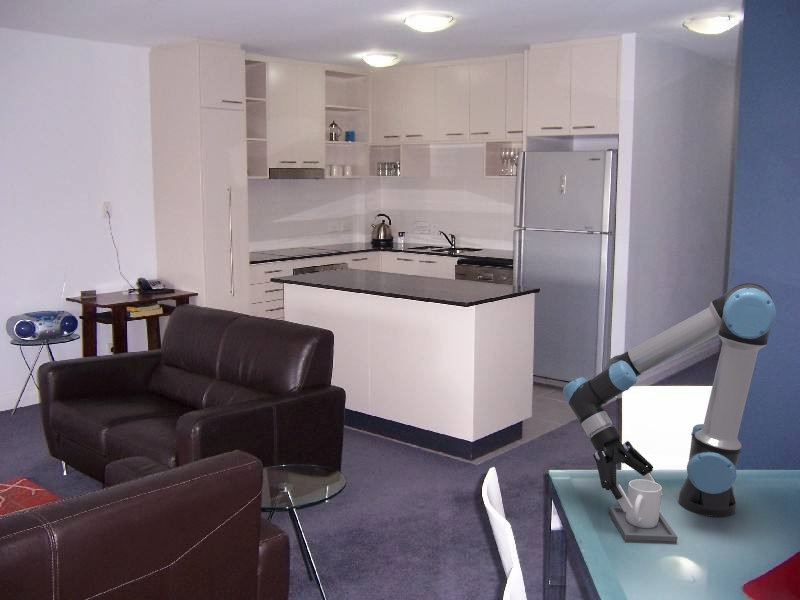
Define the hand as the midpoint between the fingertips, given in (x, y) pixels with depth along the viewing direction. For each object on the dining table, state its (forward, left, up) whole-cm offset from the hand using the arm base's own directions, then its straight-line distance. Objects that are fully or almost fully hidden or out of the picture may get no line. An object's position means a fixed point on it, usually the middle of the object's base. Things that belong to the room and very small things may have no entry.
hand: (644, 503), depth 212 cm
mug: (0, -1, -6) cm, 6 cm away
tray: (0, 0, -7) cm, 7 cm away
